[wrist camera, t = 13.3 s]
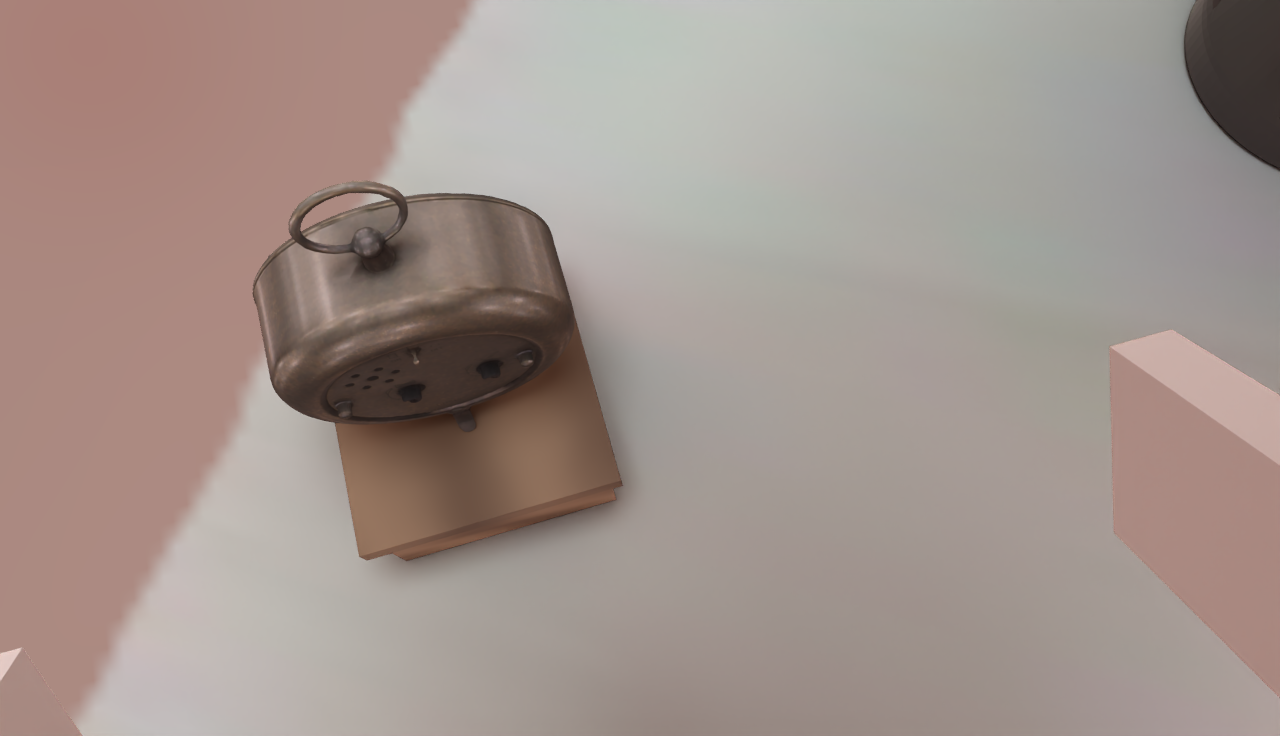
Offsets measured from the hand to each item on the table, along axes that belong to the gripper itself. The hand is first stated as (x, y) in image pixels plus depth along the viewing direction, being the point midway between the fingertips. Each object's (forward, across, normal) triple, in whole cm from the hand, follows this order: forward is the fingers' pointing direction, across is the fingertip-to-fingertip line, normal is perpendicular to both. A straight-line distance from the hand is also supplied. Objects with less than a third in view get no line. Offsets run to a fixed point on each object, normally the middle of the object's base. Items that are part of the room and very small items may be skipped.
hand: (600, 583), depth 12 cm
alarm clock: (+29, -6, -10) cm, 31 cm away
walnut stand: (+32, -6, -14) cm, 36 cm away
